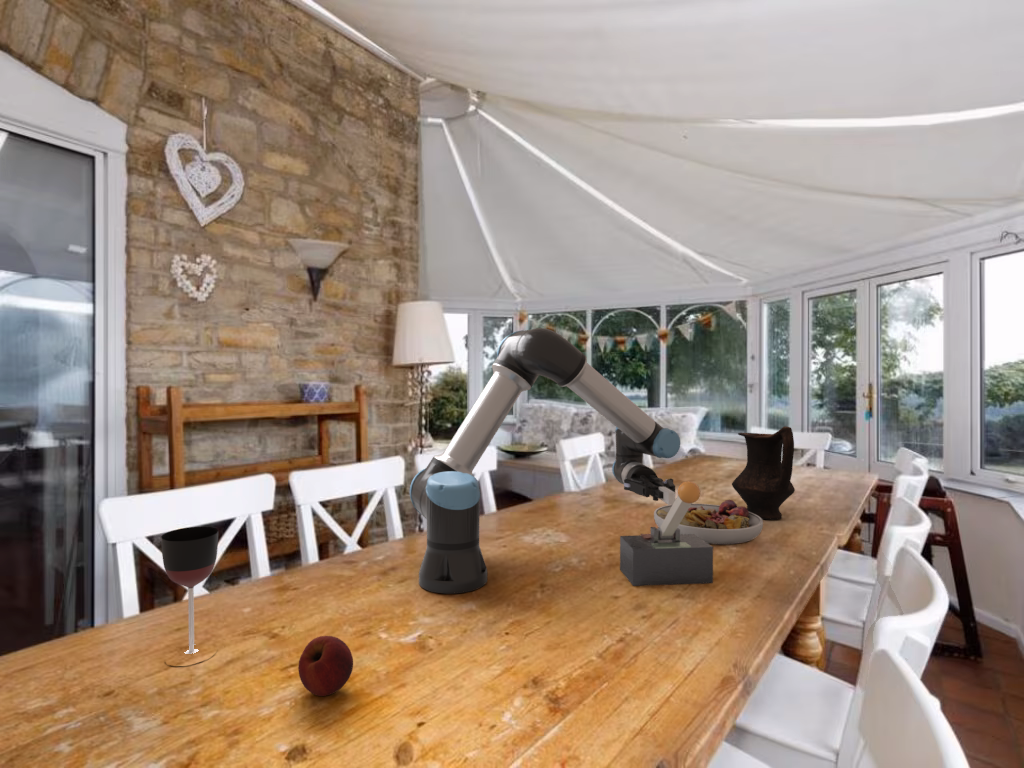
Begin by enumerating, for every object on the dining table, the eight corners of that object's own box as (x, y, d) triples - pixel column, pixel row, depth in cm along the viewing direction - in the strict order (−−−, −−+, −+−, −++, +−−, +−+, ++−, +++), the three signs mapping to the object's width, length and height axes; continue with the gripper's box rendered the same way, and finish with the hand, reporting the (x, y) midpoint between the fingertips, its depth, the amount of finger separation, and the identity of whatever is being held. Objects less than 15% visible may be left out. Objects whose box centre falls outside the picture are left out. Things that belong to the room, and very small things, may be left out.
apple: (286, 695, 80) (286, 640, 80) (331, 671, 86) (331, 620, 86) (319, 713, 76) (319, 654, 75) (364, 686, 82) (363, 632, 82)
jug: (719, 511, 186) (719, 422, 186) (764, 507, 192) (765, 420, 191) (765, 528, 166) (766, 428, 165) (814, 523, 171) (815, 426, 171)
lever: (652, 527, 129) (678, 477, 113) (670, 527, 129) (699, 476, 113) (656, 545, 126) (684, 496, 110) (675, 544, 126) (705, 495, 110)
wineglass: (206, 638, 97) (204, 524, 97) (228, 654, 91) (227, 533, 91) (154, 655, 91) (153, 534, 90) (175, 674, 85) (173, 544, 85)
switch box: (620, 569, 131) (620, 523, 131) (694, 567, 132) (694, 521, 132) (632, 585, 121) (633, 535, 121) (712, 583, 123) (713, 533, 122)
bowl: (727, 555, 142) (728, 525, 142) (633, 530, 165) (633, 504, 165) (781, 534, 161) (782, 507, 161) (690, 514, 184) (690, 490, 184)
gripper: (663, 492, 148) (700, 514, 124) (615, 493, 147) (643, 516, 123) (663, 464, 148) (700, 481, 124) (615, 464, 147) (643, 482, 123)
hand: (671, 498), depth 124 cm, fingers closed
